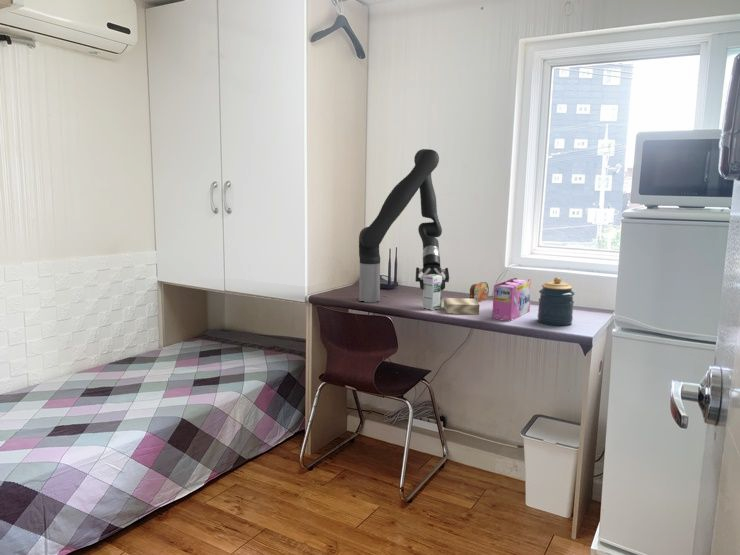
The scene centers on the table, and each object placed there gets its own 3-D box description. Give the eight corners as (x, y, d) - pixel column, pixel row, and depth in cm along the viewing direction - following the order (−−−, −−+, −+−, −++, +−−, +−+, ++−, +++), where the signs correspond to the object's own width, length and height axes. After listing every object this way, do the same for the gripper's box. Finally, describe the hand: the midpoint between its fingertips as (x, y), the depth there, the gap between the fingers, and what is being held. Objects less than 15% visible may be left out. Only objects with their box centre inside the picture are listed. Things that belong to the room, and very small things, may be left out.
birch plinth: (447, 313, 227) (447, 304, 226) (443, 307, 240) (444, 298, 239) (479, 314, 226) (479, 304, 226) (474, 307, 239) (474, 298, 239)
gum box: (513, 308, 239) (514, 277, 237) (531, 310, 235) (533, 279, 233) (491, 318, 220) (493, 284, 218) (510, 321, 215) (512, 287, 213)
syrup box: (432, 310, 232) (433, 276, 230) (422, 308, 237) (423, 274, 234) (441, 308, 236) (442, 275, 233) (431, 306, 240) (432, 273, 238)
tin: (474, 303, 248) (475, 285, 246) (467, 302, 249) (468, 284, 248) (489, 298, 259) (489, 281, 258) (482, 297, 261) (483, 280, 260)
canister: (543, 326, 209) (546, 279, 206) (533, 318, 222) (535, 274, 219) (577, 326, 209) (581, 280, 206) (565, 318, 222) (568, 274, 219)
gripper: (415, 253, 240) (416, 283, 231) (448, 253, 240) (450, 284, 230) (414, 263, 246) (415, 293, 237) (446, 263, 246) (448, 294, 236)
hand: (432, 288), depth 234 cm, fingers closed on syrup box, 8 cm apart
